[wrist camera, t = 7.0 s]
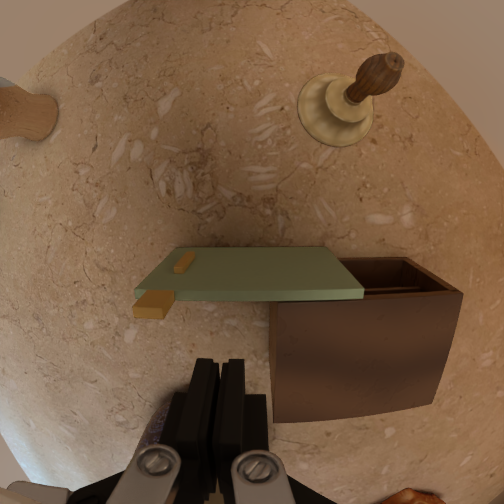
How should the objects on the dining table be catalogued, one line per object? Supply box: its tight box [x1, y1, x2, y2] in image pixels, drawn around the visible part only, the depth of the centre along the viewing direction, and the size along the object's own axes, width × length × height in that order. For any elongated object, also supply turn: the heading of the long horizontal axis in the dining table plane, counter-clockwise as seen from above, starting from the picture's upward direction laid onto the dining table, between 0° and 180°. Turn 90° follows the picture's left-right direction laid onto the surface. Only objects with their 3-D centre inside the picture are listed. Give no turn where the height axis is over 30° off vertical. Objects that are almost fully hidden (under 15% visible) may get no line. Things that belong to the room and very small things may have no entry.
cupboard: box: [269, 257, 463, 423], centre depth 29 cm, size 12×16×12 cm
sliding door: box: [132, 247, 364, 319], centre depth 26 cm, size 1×16×16 cm, turn 90°
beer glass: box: [0, 77, 58, 141], centre depth 22 cm, size 7×7×15 cm
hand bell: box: [297, 52, 404, 147], centre depth 22 cm, size 8×8×16 cm
